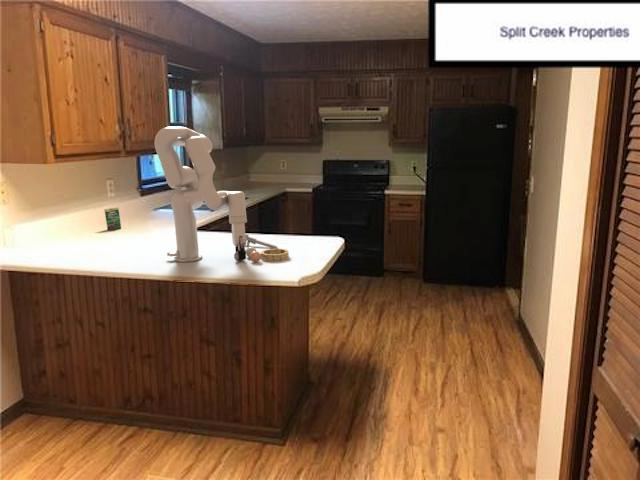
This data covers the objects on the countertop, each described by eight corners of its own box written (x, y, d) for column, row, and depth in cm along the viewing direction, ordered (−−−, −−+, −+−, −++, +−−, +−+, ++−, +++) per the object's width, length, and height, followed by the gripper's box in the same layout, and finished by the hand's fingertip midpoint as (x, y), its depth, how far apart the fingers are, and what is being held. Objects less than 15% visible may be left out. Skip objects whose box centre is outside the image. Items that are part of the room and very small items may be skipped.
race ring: (263, 262, 229) (263, 256, 228) (259, 256, 240) (258, 250, 240) (291, 260, 232) (290, 253, 231) (285, 253, 244) (284, 247, 243)
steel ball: (235, 263, 228) (234, 252, 227) (233, 260, 233) (233, 250, 232) (246, 262, 230) (245, 251, 229) (244, 259, 235) (244, 249, 233)
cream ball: (246, 259, 236) (246, 248, 235) (245, 256, 240) (244, 246, 239) (257, 258, 237) (256, 247, 236) (255, 255, 242) (255, 245, 241)
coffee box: (107, 230, 315) (104, 209, 312) (106, 229, 317) (104, 208, 315) (121, 228, 318) (119, 207, 316) (120, 228, 321) (118, 207, 318)
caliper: (243, 246, 264) (243, 234, 263) (245, 245, 265) (244, 233, 264) (277, 249, 255) (277, 236, 253) (278, 248, 256) (278, 236, 254)
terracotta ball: (250, 263, 227) (250, 252, 226) (249, 261, 232) (248, 250, 231) (262, 262, 228) (261, 251, 227) (260, 260, 233) (259, 249, 232)
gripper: (227, 217, 235) (230, 253, 238) (231, 223, 218) (234, 262, 222) (243, 216, 237) (246, 252, 240) (249, 221, 220) (252, 260, 224)
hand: (240, 257), depth 231 cm, fingers open, 9 cm apart
